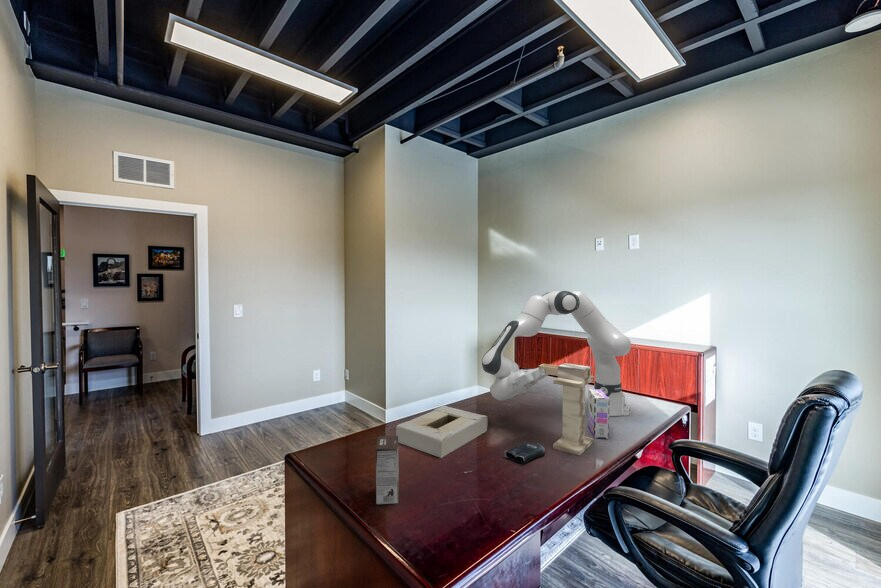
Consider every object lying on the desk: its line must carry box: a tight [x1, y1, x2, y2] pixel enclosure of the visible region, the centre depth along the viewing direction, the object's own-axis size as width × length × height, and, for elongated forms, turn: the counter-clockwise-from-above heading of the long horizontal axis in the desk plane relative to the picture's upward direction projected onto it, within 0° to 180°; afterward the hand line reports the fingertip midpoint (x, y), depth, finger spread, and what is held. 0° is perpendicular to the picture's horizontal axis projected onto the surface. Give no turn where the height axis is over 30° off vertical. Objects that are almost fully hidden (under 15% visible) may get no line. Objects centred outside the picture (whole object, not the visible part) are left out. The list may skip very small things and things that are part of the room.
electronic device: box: [503, 441, 546, 465], centre depth 139 cm, size 9×6×15 cm
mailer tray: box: [538, 363, 588, 379], centre depth 150 cm, size 4×18×3 cm, turn 50°
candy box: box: [587, 388, 610, 440], centre depth 160 cm, size 14×6×16 cm, turn 168°
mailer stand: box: [552, 362, 595, 456], centre depth 147 cm, size 15×10×30 cm, turn 140°
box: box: [395, 405, 489, 459], centre depth 156 cm, size 23×8×32 cm
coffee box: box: [375, 435, 400, 505], centre depth 113 cm, size 9×6×16 cm
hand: (549, 368), depth 153 cm, fingers open, 8 cm apart
